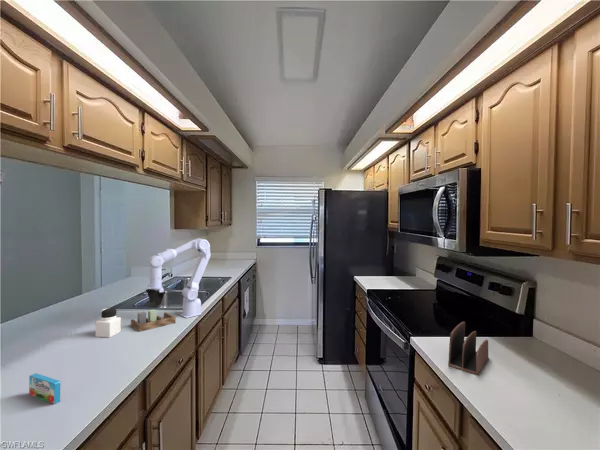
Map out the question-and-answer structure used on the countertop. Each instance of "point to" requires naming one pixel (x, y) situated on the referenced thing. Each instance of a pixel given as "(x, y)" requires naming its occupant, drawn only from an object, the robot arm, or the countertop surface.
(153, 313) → the sage block
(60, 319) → the countertop surface
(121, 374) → the countertop surface
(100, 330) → the medicine bottle
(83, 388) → the countertop surface
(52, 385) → the yogurt
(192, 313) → the robot arm
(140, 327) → the comb rack
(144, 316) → the gray block
